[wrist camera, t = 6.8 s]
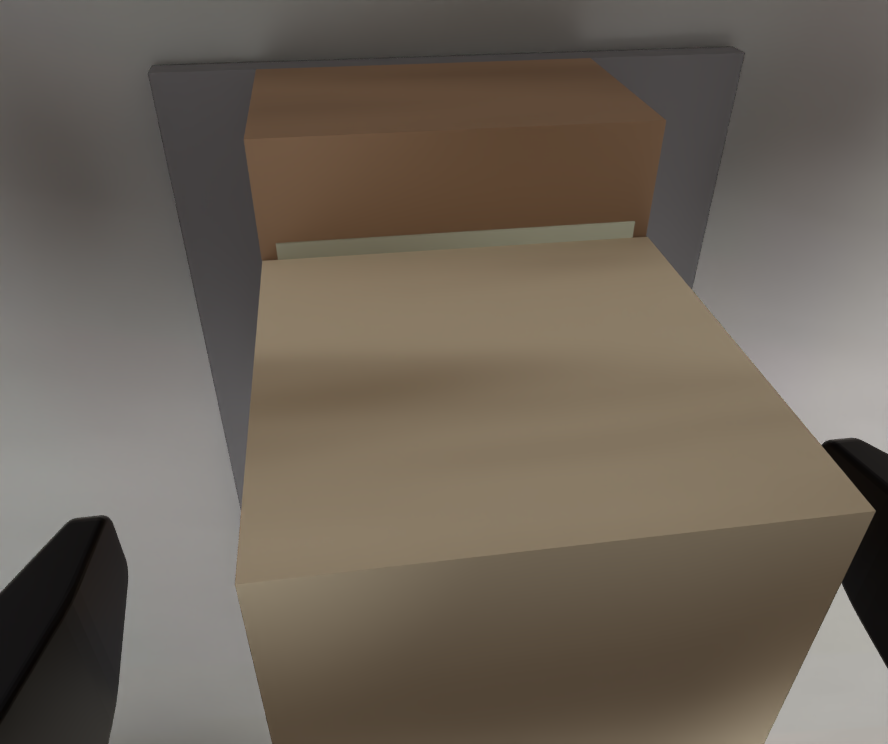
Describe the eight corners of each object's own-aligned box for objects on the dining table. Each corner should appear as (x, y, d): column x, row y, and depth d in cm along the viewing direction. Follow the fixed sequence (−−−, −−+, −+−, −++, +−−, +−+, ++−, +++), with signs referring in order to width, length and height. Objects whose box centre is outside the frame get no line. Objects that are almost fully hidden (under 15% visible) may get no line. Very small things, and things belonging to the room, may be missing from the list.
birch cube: (599, 505, 13) (731, 809, 9) (302, 537, 12) (304, 880, 8) (647, 236, 10) (876, 511, 6) (262, 260, 9) (235, 584, 5)
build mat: (604, 645, 22) (609, 658, 21) (282, 688, 21) (281, 702, 20) (733, 46, 12) (745, 52, 12) (152, 66, 11) (148, 72, 11)
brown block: (546, 452, 16) (589, 562, 14) (310, 475, 16) (311, 595, 13) (590, 58, 12) (667, 120, 9) (255, 69, 11) (243, 140, 9)
